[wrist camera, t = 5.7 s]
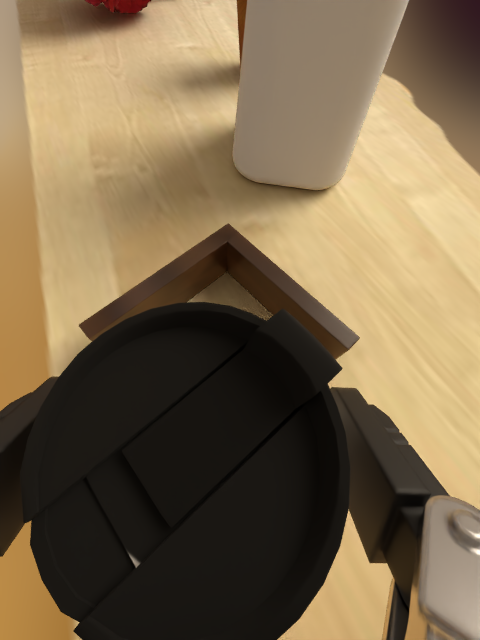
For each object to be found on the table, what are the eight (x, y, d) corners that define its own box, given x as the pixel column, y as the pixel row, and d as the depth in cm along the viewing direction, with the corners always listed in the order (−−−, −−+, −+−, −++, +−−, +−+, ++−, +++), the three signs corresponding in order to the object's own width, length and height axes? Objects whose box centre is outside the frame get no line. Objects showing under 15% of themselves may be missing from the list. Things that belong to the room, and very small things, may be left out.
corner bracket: (227, 255, 31) (228, 223, 26) (337, 354, 26) (360, 337, 22) (104, 345, 26) (77, 324, 21) (214, 485, 21) (211, 498, 17)
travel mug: (270, 442, 23) (451, 461, 5) (209, 502, 21) (99, 957, 3) (224, 385, 25) (222, 235, 6) (163, 436, 23) (-94, 431, 4)
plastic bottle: (228, 183, 35) (235, -497, 10) (242, 115, 41) (270, -412, 16) (342, 199, 35) (659, -447, 9) (339, 128, 41) (527, -380, 16)
